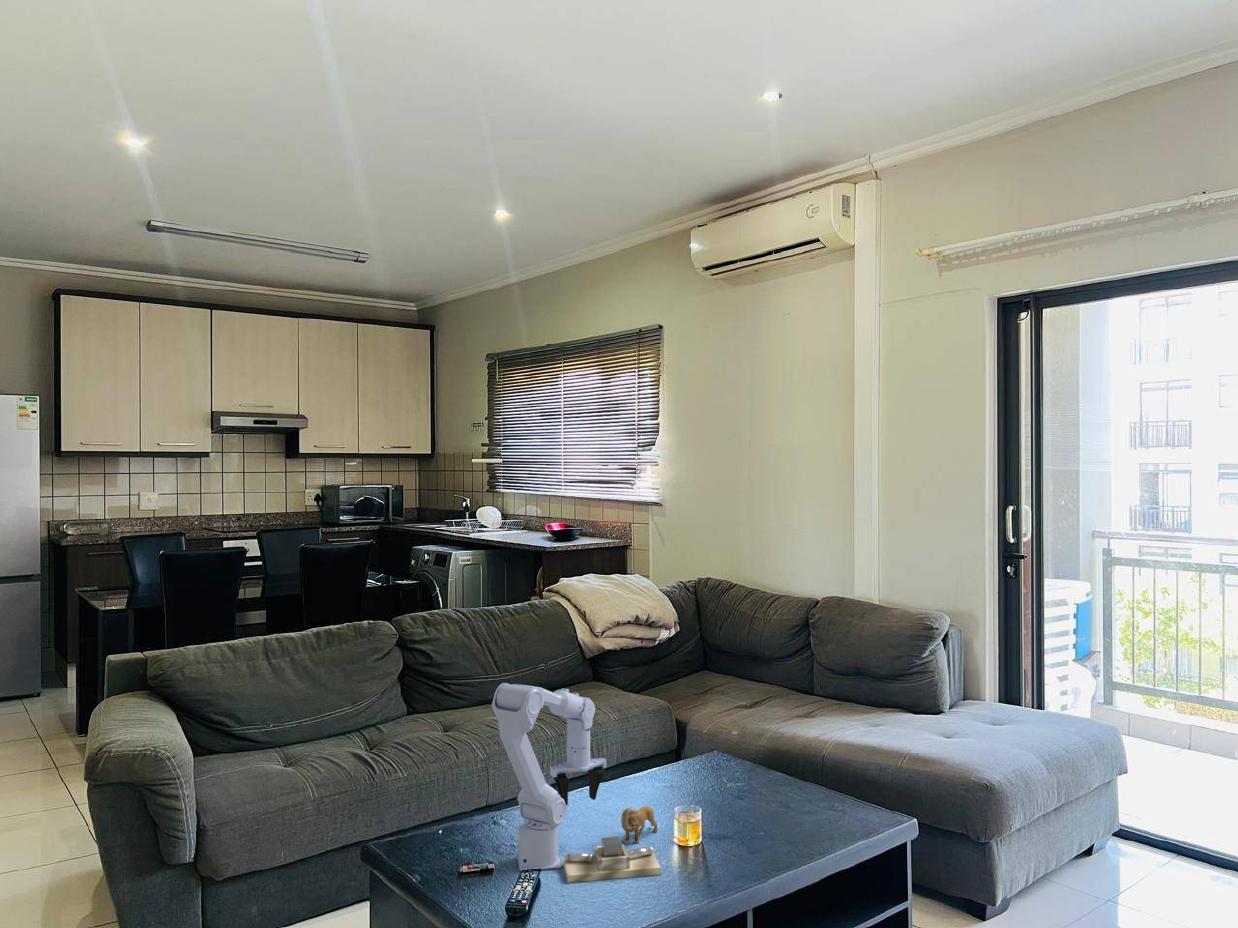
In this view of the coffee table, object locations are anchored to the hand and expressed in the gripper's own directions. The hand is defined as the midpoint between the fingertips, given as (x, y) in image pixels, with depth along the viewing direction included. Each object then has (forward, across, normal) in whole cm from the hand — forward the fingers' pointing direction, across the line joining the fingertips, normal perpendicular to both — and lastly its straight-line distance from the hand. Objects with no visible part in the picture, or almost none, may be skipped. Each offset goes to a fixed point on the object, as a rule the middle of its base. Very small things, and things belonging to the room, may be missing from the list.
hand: (578, 800), depth 215 cm
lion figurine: (+10, +14, -7) cm, 18 cm away
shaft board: (+9, -1, -18) cm, 20 cm away
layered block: (+8, -1, -18) cm, 20 cm away
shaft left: (+8, -7, -14) cm, 18 cm away
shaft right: (+8, +7, -19) cm, 21 cm away
